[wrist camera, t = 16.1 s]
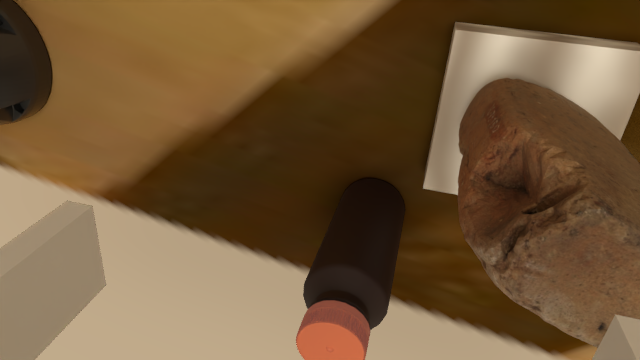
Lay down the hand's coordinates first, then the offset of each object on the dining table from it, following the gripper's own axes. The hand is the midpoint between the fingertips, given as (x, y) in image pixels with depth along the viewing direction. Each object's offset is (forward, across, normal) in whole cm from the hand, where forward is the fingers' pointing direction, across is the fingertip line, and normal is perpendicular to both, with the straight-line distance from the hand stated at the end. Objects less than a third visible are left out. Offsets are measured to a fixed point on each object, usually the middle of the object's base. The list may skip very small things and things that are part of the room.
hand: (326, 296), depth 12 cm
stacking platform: (+33, -11, +5) cm, 35 cm away
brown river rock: (+29, -11, +5) cm, 32 cm away
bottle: (+34, 0, +17) cm, 38 cm away
